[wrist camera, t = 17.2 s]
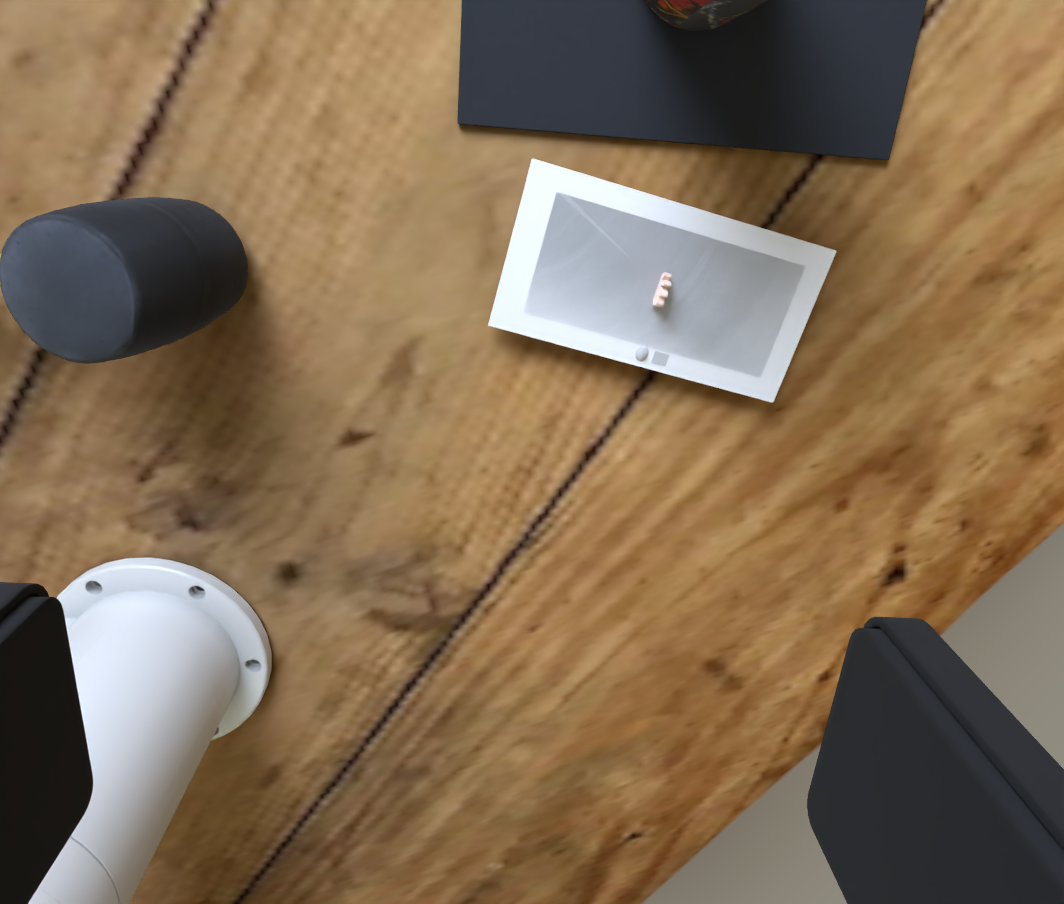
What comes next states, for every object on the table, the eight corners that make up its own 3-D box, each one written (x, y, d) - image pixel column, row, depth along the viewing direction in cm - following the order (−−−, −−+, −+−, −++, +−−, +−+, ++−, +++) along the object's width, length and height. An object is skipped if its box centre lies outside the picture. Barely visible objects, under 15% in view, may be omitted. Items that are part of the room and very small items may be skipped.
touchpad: (531, 158, 35) (532, 158, 33) (827, 247, 36) (846, 253, 34) (488, 320, 37) (487, 330, 35) (765, 396, 39) (780, 409, 37)
